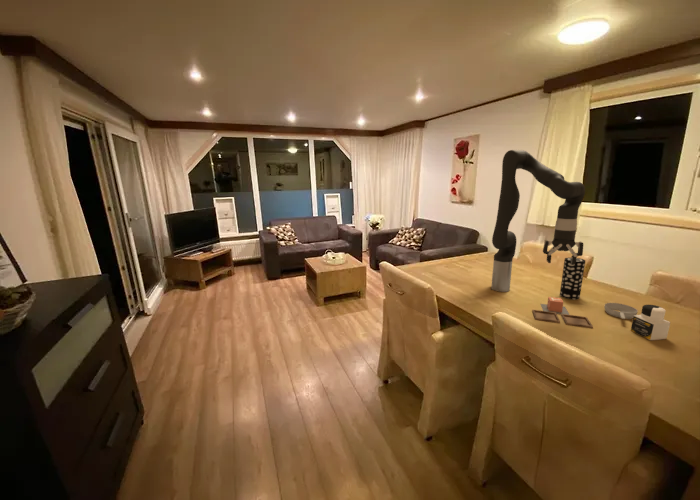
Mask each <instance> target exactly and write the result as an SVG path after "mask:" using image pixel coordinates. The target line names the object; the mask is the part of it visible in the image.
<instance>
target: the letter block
mask: <svg viewBox="0 0 700 500" xmlns="http://www.w3.org/2000/svg"><path fill="white" fill-rule="evenodd" d="M546 304H547V307H548V310H549V311H555V312H562V309H563V306H564V301H563V299H562V297H553V296H548V297H547V303H546Z"/></svg>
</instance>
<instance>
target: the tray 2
mask: <svg viewBox="0 0 700 500" xmlns="http://www.w3.org/2000/svg"><path fill="white" fill-rule="evenodd" d="M560 316H561V318H562V319H563V322H564V324H565V325H567V326H572V327H573V326H574V327H579V328H586V329H594V326H593V324H592V323H591V321H590V319H588V317H587V316H581V315H573V314H570V315H567V314H560Z"/></svg>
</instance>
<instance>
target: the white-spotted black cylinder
mask: <svg viewBox="0 0 700 500" xmlns="http://www.w3.org/2000/svg"><path fill="white" fill-rule="evenodd" d="M585 266H586V260H585V259H583V258H579V257H577V258H576V263H575V264H574V265H571V257H565V258H564V262H563V269H562V276H561V283H560V284H561V285H560V291H559V296H560V298H564V299H567V300H571V301H572V300H574V301H575V300H577V301H578V300H579V299H580V298H581V292H582V286H583V280H584V272H585Z"/></svg>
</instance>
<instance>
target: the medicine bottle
mask: <svg viewBox="0 0 700 500" xmlns="http://www.w3.org/2000/svg"><path fill="white" fill-rule="evenodd" d="M641 307H642V308H641V313H640V314H637V315H634V317H633V318H632V322H631V326H630V327H631V328H630V331H631V332H633V333H635V334H636V335H639V336H641V337H643V338H645V339H646V340H649V341H658V340H666V339H667V338H668V334H669V330H670V328H671V327H670V326H671V321H669V320H666V319H665V315H666V311H667V310H666V309H665V308H663V307H661V306H659V305H655V304H644V305H642V306H641Z"/></svg>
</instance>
